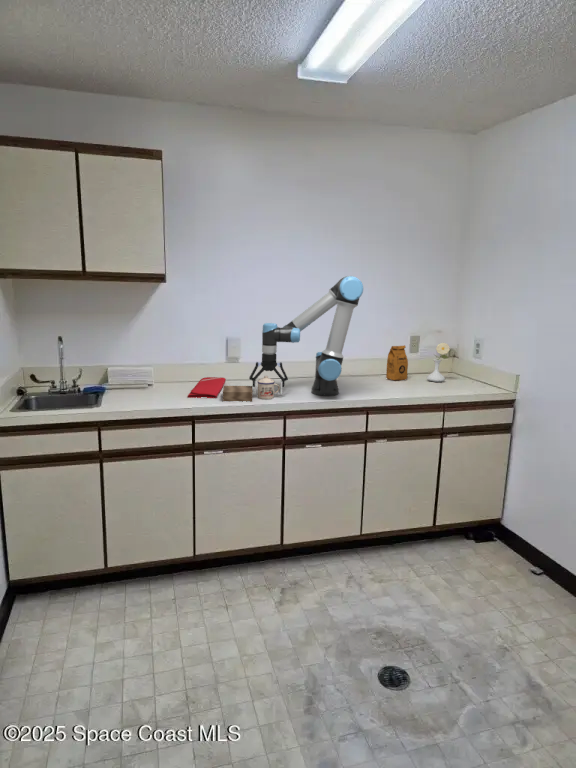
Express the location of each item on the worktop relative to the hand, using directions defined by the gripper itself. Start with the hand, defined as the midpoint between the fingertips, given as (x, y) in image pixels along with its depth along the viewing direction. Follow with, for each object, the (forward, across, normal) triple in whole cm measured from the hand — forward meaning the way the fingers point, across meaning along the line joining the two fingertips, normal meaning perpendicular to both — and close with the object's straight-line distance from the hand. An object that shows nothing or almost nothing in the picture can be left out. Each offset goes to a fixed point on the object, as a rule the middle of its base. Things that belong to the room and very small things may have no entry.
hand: (268, 393), depth 270 cm
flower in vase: (+2, -109, -48) cm, 119 cm away
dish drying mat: (+3, +33, -18) cm, 38 cm away
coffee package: (+2, -84, -52) cm, 99 cm away
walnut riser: (+2, +16, +2) cm, 16 cm away
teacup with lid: (+3, 0, 0) cm, 3 cm away
